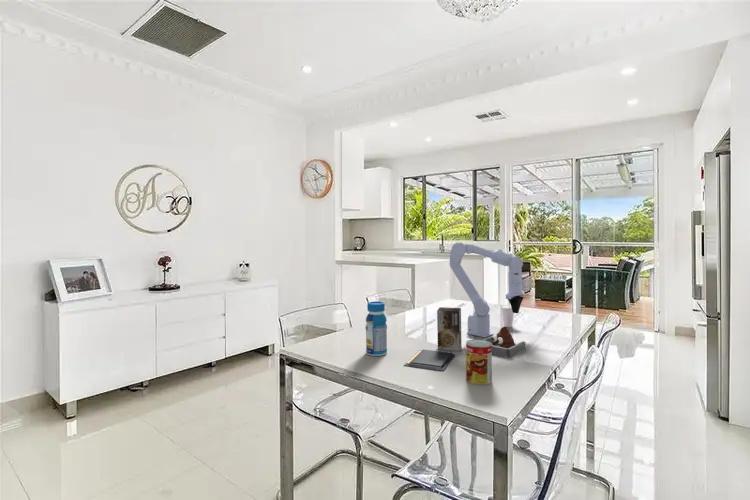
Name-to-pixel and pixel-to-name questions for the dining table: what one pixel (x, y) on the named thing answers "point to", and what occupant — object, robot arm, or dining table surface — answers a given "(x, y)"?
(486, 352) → the canned food
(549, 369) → the dining table surface
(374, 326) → the beverage bottle
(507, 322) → the smoothie
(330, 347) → the dining table surface
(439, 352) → the dark gray flat slab
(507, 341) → the poop emoji
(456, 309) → the coffee box
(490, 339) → the box
